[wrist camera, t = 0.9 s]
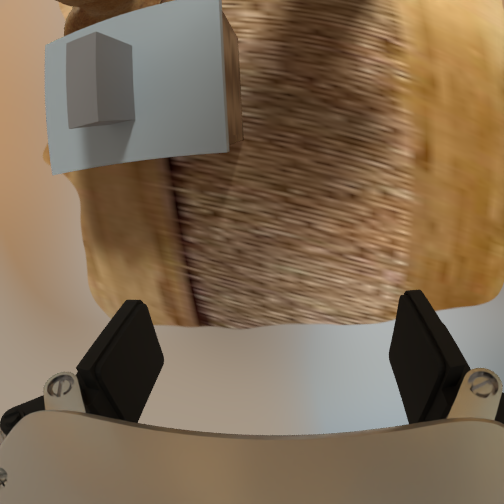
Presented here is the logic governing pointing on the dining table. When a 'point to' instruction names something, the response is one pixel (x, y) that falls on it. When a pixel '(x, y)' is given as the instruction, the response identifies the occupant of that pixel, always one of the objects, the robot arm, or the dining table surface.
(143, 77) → the lid
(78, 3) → the tan boot
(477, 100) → the dining table surface
